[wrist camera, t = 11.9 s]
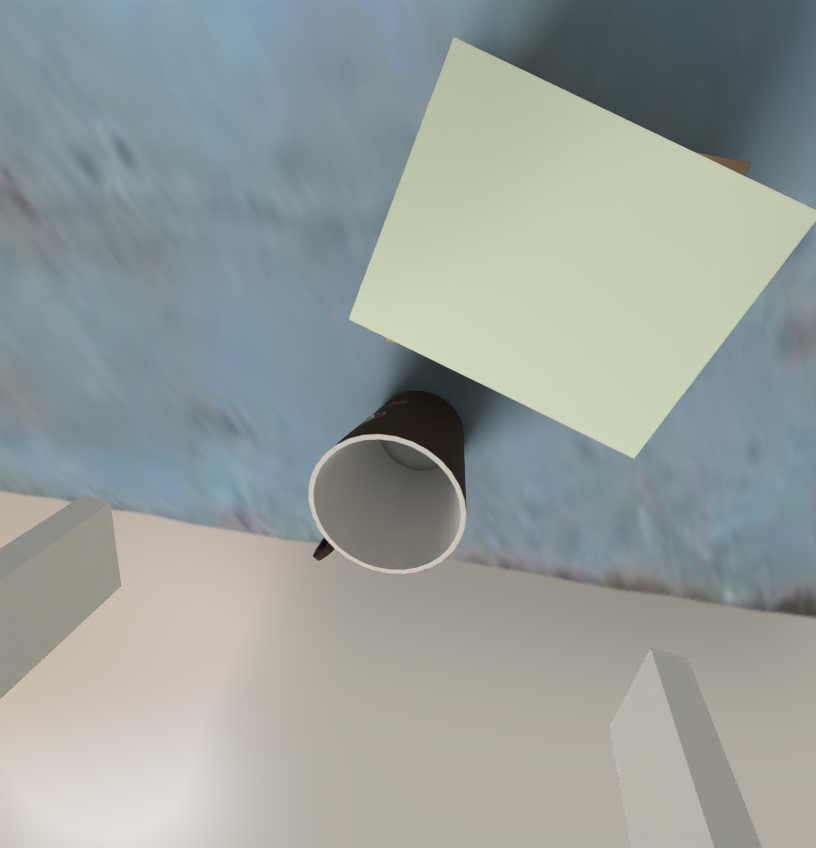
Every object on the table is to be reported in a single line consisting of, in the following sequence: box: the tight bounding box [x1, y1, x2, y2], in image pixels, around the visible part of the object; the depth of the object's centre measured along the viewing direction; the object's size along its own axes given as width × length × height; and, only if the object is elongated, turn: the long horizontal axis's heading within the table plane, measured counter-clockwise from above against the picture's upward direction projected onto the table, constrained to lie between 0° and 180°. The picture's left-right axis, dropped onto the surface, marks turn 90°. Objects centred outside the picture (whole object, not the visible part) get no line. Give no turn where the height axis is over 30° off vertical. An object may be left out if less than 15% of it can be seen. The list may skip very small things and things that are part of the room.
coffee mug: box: [309, 391, 466, 574], centre depth 30 cm, size 12×9×10 cm
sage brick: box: [349, 37, 816, 458], centre depth 21 cm, size 13×10×8 cm
